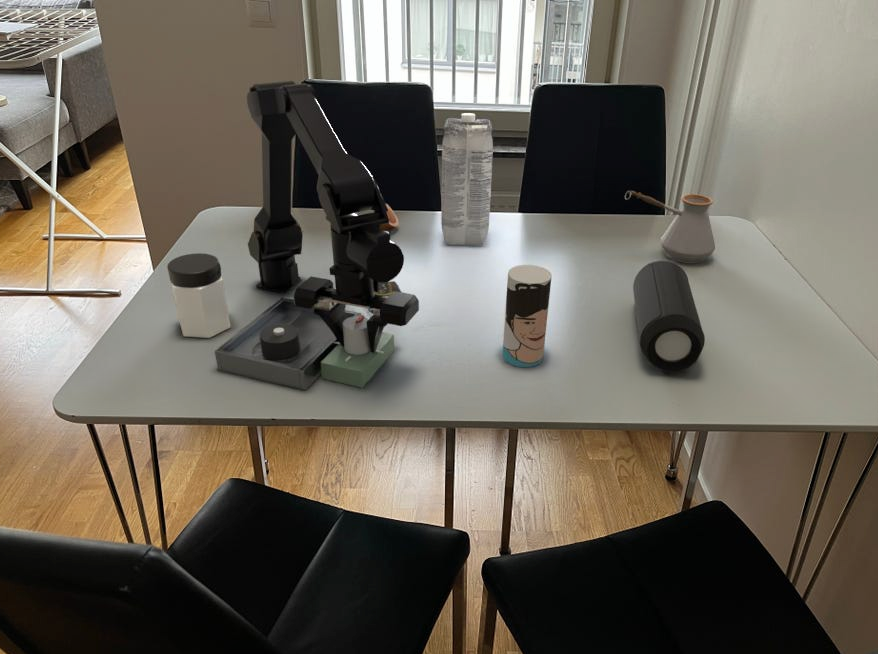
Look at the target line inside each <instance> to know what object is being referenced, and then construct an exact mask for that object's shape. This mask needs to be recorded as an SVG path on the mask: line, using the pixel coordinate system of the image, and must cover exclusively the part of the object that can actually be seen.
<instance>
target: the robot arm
mask: <svg viewBox="0 0 878 654" xmlns="http://www.w3.org/2000/svg"><path fill="white" fill-rule="evenodd" d="M317 100H318V99H317V94H316V90H315V88H314V86H313V85H311V84H307V83H305V82H303V83H295V81H294V80H288V81H287V80H285V81H284V80H283V81H273V82H264V83H263V82H262V83H254V84H253V85H252V86H250V87H249V90H248V92H247V95H246V103H247V107H248V110H249V113H250V117H251V119H252V121H253V122H254V123H255V125H256V126H257V129H259V130H260V132H261V158H262V159H261V162H262V166H261V167H262V207H261V209H260V210H259V212H258V213H257V214H256V215H255V217H254V219H253V231H252V232H251V234H250V236H249V240H248V242H247V249H248V251H249V256H251V257H252V259H254V260H255V262H256V263H257V265H258V272H259V279H260V281H259V282H258V283H257V284H256V285H255V286H256V288H257V289H260V290H264V291H265V290H266V291H270V292H276V293H282V294H286V293H288V292H289V291H290V290H292V289H293V288H294V287H296V286H297V285H298V284H299V283H300V284H299V285H298V286H297V287H296V288H295V289H294V290H293V294H292V299H293V300H294V305H295V306H297V307H302V308H308V309H311V308H312V307H313V306H314V305H315V304H316V308H315V309H314V314H317V315H319V316H320V317H321V318H322V320H323V321H324V322H325V323H326V325H327V326H328V327H329V328H330V330H331V331H332V332H333V334H334V335H335V337H336V338H337V340H338V341H339V343H340V344H341V346H343V347H344V335H343V322H344V320H346V319H345V310H346V308H347V306H352V307H358V308H363V309H370V310H372V315H371V316H370V317H369V318H368V319H369V320H368V321H367V322H366V323H367V330H368V338H369V346H370V349H371V352H372V353H374V352H375V350H376V349H377V346H378V343H379V340H380V337H381V334H382V332H384V329H385V327H386V326H387V325H393V326H397V327H403V326H407V325H408V324H409V322H410V321H411V320H412V319H413V318H414V316H416V314H417V313H418V312H419V311H420V301H419V300H420V299H418V296H416V295H415V294H414V293H409V292H403V291H401V292H397V291H394V292H393V293H392V294H391V295H390V296H389V297H388V296H383V297H376V296H374V292H379V291H380V290H381V289H382V288H381V285H383V284H385V285H388V284H389V282H391V281H393V280H394V279H395V278H396V277H397V276H398V275H399V274H400V273H401V271H402V269H403V268H404V267H403V266H404V262H405V255H404V254H403V252H402V251H403V250H402V249H401V247H400V246H399V245H398V244H396V243H395V242H393V241H392V240H391V234H390V232H389V231H383V230H381V229H380V225H383V224H388V223H389V218H388V215H387V211H388V208H387V206H386V204H387V203H386V202H385V199H384V197H383V195H382V193H381V191H380V188H379V186H378V183H377V181H376V179H375V178H374V176H373V175H372V174H371V172H370V171H369V170H368V168H367V167H366V166H365V164H364V163H363V162H362V161H361V160H360V159H358V158H356V157H354V156H352V155H351V154H348V153H347V151H346V150H345V149H344V146H343V145H342V143H341V141H340V139H339V137H338V136H337V134H336V133H335V131H334V129H333V128H332V126H331V124H330V122H329V120H328V119H327V116H326V115H325V113H324V111H323V109H322V108H321V106H320V104H319V102H318V101H317ZM296 135H297V137H298V139H299V141H300V144H302V146H303V148H304V150H305V152H306V154H307V156H308V157H309V159H310V161H311V163H312V165H313V167H314V169H315V171H316V174H317V175H318V176H317V182H316V183H317V184H316V192H317V194H318V200H319V203H320V206H321V208H322V210H323V212H324V214H325V219H326V221H327V222H329V224H330V235H331V236H330V237H331V249H332V260H333V261H332V262H333V265H331V267H329V275H330V276H334V282H333V281H332V280H331V279H328V278H323V277H316V276H309V277H308V278H307V279H306V280H304V281H302V280H303V278H302V277H301V276H299V268H298V262H297V261H296V257H295V256H296V255H302V250H303V229H302V227H301V225H300V223H299V222H298V221H297V219H296V218H295V216H294V215H293V213H292V161H293V159H292V158H293V157H292V155H293V139H294V138H295V136H296ZM371 210H373V211H372V212H368V213H364V214H358V215H357V213H362V212H367V211H371ZM334 284H335V286H334ZM334 287H335V288H334Z"/></svg>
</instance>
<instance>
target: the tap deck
mask: <svg viewBox="0 0 878 654" xmlns="http://www.w3.org/2000/svg"><path fill="white" fill-rule="evenodd" d="M334 343H335V344H338V345H337V346H336V347H335V348H334V349H333V350H332V351H331V352H330V353H329V354H328V355H327V356H326V357H325V358H324V360H323V361H322V362H321V372H322V374H321V378H322V379H323V380H327V381H331V382H336V383H339V384H344V385H349V386H353V387H357V388H361V389H362V388H364V387H365V386H366V384H368V382H369V381H370V380H371V379H372V378H373V376H374V375H375V374H376V373H377V372H378V370H379V369H380V368H381V367H382V365H384V363H385V362H386V360H387V359H388V358H390V356H391V355H392V353H393V352H394V351H395V334H394V333H389V332H385V331H382V334H381V337H380V340H379V343H378V346H377V349H376V350H375V352H374V353H372V352H371V351H369V352H368V353H365V354H361V355H354V354H350V353H348V352H346V351H345V348H344V347H343V346H341V344H340V343H339V342H334Z"/></svg>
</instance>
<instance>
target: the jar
mask: <svg viewBox="0 0 878 654" xmlns="http://www.w3.org/2000/svg"><path fill="white" fill-rule="evenodd" d="M221 266H222V265H221V264H220V260H219V258H218V257H216V256H215V255H212V254H209V253H203V252H201V253H199V252H198V253H197V252H196V253H189V254H183V255H180V256H178V257H175V258H173V259H172V260H170V261H169V262H168V263H167V266H166V268H167V273H168V277H169V280H170V286H171V290H172V294H173V299H174V304H175V308H176V313H177V318H178V322H179V327H180V329H181V333H182V336H183V337H185V338H186V337H189V338H203V339H211V338H212V337H215V336H217V335H218V334H221V333H222V332H224V331H227V330H229V329H231V319H230V314H229V308H228V301H227V295H226V292H225V285H224V284H225V283H224V279H223V277H222V267H221Z"/></svg>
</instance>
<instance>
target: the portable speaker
mask: <svg viewBox="0 0 878 654" xmlns="http://www.w3.org/2000/svg"><path fill="white" fill-rule="evenodd" d="M632 293H633V298H634V299H633V300H634V307H635V317H636V323H637V324H636V325H637V331H638V332H637V333H638V340H639V346H640V350H641V352H642V355H643V356H644V357H645V359H646V360H647V362H649V363H650V364H652V365H653V366H654V368H657V369H658V370H660V371H664V372H668V373H675V372H682V371H684V370H687V369H688V368H690V367H691V366H693V365H694V364H695V363H697V361H698V360H699V358H700V357H701V354H702V352H703V350H704V347H705V343H706V342H705V341H706V340H705V338H706V337H705V333H704V331H703V327H702V324H701V321H700V316H699V312H698V309H697V306H696V303H695V299H694V297H693V296H694V295H693V292H692V289H691V285H690V282H689V277H688V275H687V272H686V271H685V270H684V268H682V267H681V266H680V265H678V264H677V263H674V262H672V261H669V260H667V259H658V260H653V261H650V262H649V263H647V264H646V265H644V266H643V267H642V268H641V269H640V270H639V271H638V273H636V276H635V278H634V280H633V283H632Z"/></svg>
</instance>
